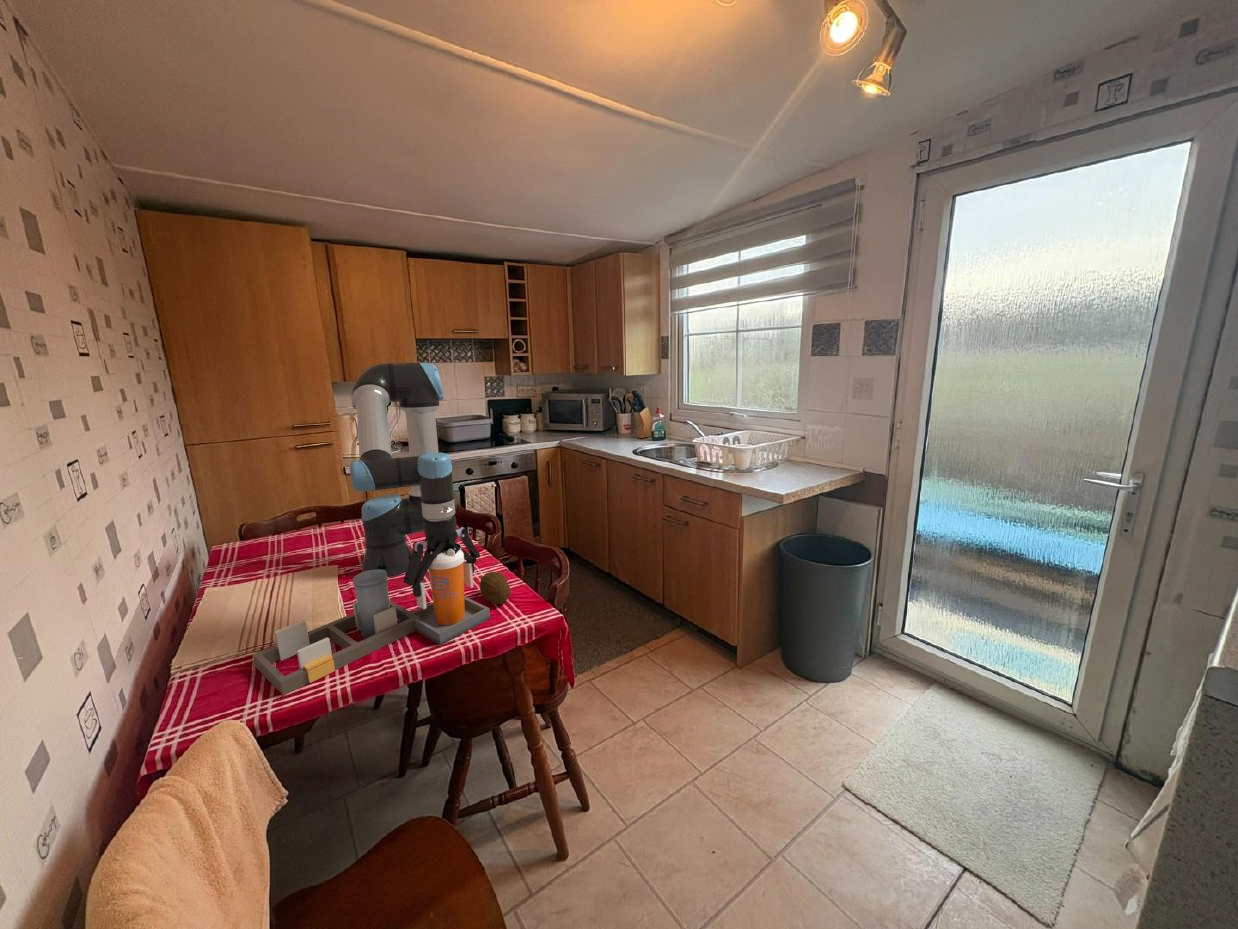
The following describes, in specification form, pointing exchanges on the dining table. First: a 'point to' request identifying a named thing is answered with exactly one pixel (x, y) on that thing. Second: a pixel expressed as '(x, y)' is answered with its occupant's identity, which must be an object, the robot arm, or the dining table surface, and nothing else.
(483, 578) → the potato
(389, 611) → the rack
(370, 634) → the canister
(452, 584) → the shaker bottle
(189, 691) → the dining table surface
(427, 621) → the tray
